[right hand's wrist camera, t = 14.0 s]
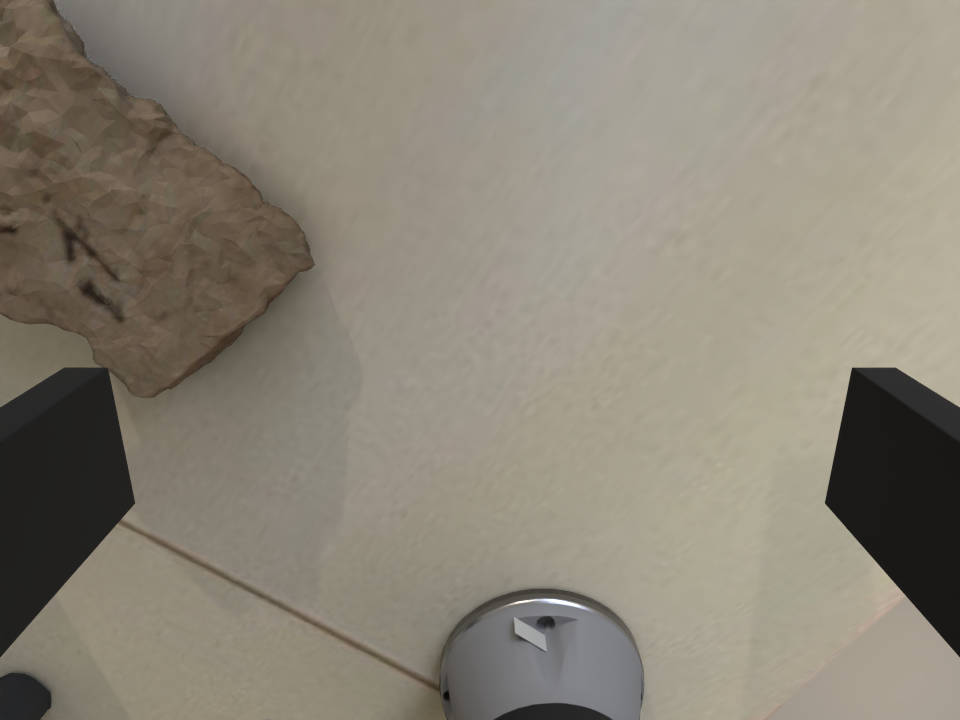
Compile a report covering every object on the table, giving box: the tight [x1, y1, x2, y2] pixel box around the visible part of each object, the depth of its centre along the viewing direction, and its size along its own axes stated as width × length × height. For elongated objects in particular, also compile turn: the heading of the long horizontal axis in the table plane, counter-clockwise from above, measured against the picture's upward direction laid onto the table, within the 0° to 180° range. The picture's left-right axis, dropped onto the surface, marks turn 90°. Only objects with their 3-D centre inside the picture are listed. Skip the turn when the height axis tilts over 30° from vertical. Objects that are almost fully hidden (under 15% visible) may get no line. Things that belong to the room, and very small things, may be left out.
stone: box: [0, 0, 315, 398], centre depth 38 cm, size 21×15×6 cm
